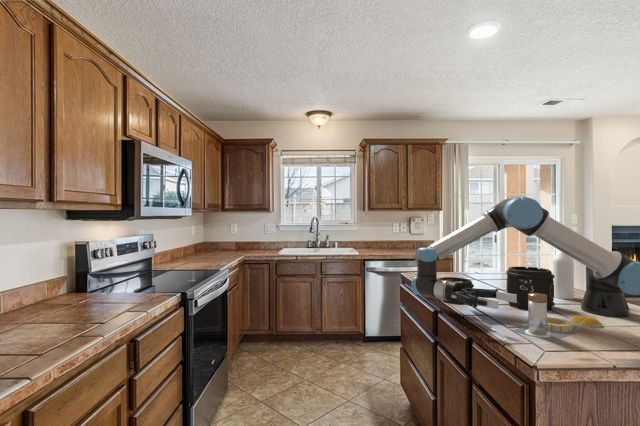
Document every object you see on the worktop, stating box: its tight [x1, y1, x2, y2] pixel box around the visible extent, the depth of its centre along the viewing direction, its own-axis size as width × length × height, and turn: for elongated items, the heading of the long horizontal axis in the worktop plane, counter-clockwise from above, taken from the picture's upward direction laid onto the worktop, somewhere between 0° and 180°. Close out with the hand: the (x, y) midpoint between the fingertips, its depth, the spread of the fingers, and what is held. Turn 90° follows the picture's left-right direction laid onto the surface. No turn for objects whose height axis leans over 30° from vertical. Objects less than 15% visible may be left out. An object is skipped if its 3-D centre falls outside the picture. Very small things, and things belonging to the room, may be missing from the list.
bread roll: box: [569, 315, 604, 329], centre depth 119 cm, size 8×9×4 cm
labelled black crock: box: [505, 266, 556, 311], centre depth 149 cm, size 18×18×16 cm
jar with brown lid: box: [527, 293, 548, 336], centre depth 109 cm, size 5×5×12 cm
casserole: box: [437, 276, 475, 289], centre depth 164 cm, size 25×19×8 cm
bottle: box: [552, 250, 575, 300], centre depth 163 cm, size 8×8×30 cm
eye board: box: [512, 316, 582, 343], centre depth 112 cm, size 20×12×4 cm, turn 124°
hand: (507, 301), depth 116 cm, fingers open, 13 cm apart
